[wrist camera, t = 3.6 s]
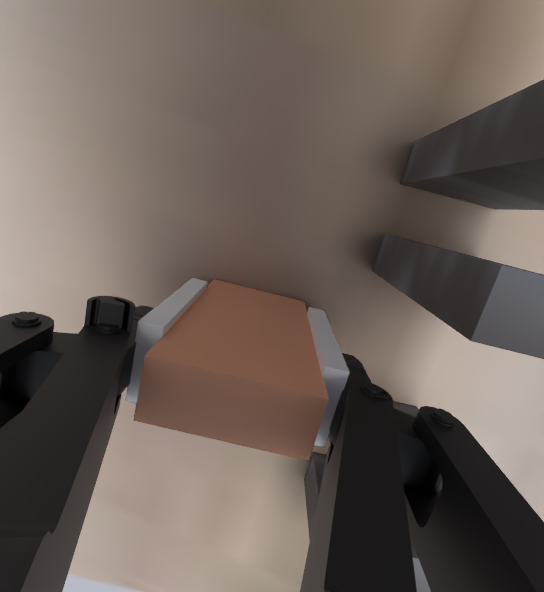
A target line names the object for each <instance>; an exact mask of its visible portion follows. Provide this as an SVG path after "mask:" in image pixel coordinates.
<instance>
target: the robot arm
mask: <svg viewBox="0 0 544 592" xmlns="http://www.w3.org/2000/svg"><path fill="white" fill-rule="evenodd" d="M207 283H208V282H207V281H203V280H199V279H195V278H191V279H190V280H189V281H188V282H186V283H185V284H184V285H183V286H181V287H180V288H179V289H178V290H176V291H175V292H174V293H173V294H171V295H170V296H169V297H168V298H166V299H165V300H164V301H163V302H161V303H160V304H159V305H158V306H156V307H155V308H151V307H147V306H139V307H135V304H134V303H132V302H131V301H129V300H126V299H123V298H118V297H112V296H97V297H92V298H90V299H88V300H87V308H86V316H85V324H84V327H83V328H82V330H81V331H80V332H79V334H70V333H59V332H53V329H54V320H53V319H51V318H50V317H48V316H45V315H42V314H36V313H35V312H29V313H28V312H20V313H14V314H9V315H5V316H2V317H0V592H62V590H63V587H64V584H65V581H66V577H67V574H68V571H69V568H70V564H71V561H72V558H73V555H74V552H75V548H76V545H77V542H78V539H79V535H80V532H81V529H82V526H83V522H84V519H85V516H86V513H87V509H88V506H89V503H90V500H91V496H92V493H93V490H94V487H95V484H96V480H97V477H98V474H99V471H100V467H101V464H102V461H103V458H104V454H105V451H106V448H107V445H108V441H109V438H110V435H111V432H112V428H113V425H114V422H115V419H116V415H117V412H118V409H119V405H120V399H121V393H122V392H123V391H124V389H125V388H126V387H127V386H128V388H127V394H126V400H125V401H128V402H133V403H137V398H138V392H139V386H140V381H141V375H142V369H143V363H144V357H145V355H146V353H147V352H148V351H149V350H150V349H151V348H152V347H153V346H154V345H155V344H156V342H157V341H158V340H159V339H160V338H162V337H163V336H164V335H165V334H166V333H167V331H168V330H169V329H170V328H171V327H172V326H173V325H174V324H175V323H176V322H177V320H178V319H179V318H180V317H181V316H182V315H183V314H184V313H185V312H186V310H187V309H188V308H189V307H190V306H191V305H192V304H193V303H194V302H195V300H196V299H197V298H198V297H199V296H200V295H201V294H202V293H203V292H204V291H205V289H206V287H207ZM307 316H308V320H309V324H310V328H311V332H312V337H313V341H314V345H315V349H316V353H317V357H318V361H319V365H320V370H321V374H322V377H323V378H324V382H325V386H326V390H327V394H328V398H329V400H328V403H327V406H326V410H325V413H324V416H323V419H322V422H321V425H320V428H319V431H318V434H317V437H316V440H315V443H314V445H317V446H321V447H325V445H326V442H327V439H328V436H329V433H330V435H331V440H332V441H331V444H330V447H329V450H328V453H327V456H326V459H325V462H324V465H323V468H322V471H321V475H323V478H322V483H321V488H320V493H319V498H318V503H317V508H316V513H315V518H314V524H313V529H312V534H311V539H310V544H309V549H308V554H307V559H306V564H305V569H304V574H303V580H302V585H301V590H300V592H417V588H416V580H415V572H414V564H413V557H412V549H411V541H410V537H411V540H412V543H413V545H414V548H415V551H416V553H417V556H418V558H419V561H420V564H421V566H422V569H423V572H424V574H425V577H426V580H427V582H428V585H429V587H430V590H431V592H544V522H543V521H542V520H541V518H540V517H539V516H538V515H537V513H536V512H535V511H534V510H533V509H532V507H531V506H530V505H529V504H528V503H527V501H526V500H525V499H524V498H523V496H522V495H521V494H520V493H519V492H518V490H517V489H516V488H515V487H514V485H513V484H512V483H511V482H510V481H509V479H508V478H507V477H506V476H505V475H504V473H503V472H502V471H501V470H500V468H499V467H498V466H497V465H496V464H495V462H494V461H493V460H492V459H491V457H490V456H489V455H488V454H487V453H486V451H485V450H484V449H483V448H482V447H481V445H480V444H479V443H478V442H477V440H476V439H475V438H474V437H473V436H472V434H471V433H470V432H469V431H468V429H467V428H466V427H465V426H464V425H463V424H462V423H461V422H460V421H459V420H458V419H457V418H455V417H454V416H452V414H450V413H449V412H447V411H446V412H445V410H442V409H437V408H434V407H428V406H424V407H421V408H420V409H419V411H418V414H417V416H416V417H414V416H411V415H409V414H407V413H404V412H402V411H399V410H397V409H395V408H394V406H393V399H392V397H391V395H390V394H389V393H388V392H386V391H385V390H384V389H382V388H380V387H379V386H377V385H375V384H372V383H371V381H370V379H369V377H368V375H367V373H366V371H365V370H364V367H363V365H362V363H361V362H360V361H359V360H358V359H356V358H355V357H354V356H352V355H348V354H344V353H341V350H340V348H339V345H338V343H337V340H336V338H335V336H334V333H333V331H332V328H331V326H330V324H329V321H328V319H327V316H326V314H325V312H324V310H320V309H316V308H312V307H309V308H308V312H307ZM441 486H442V490H441Z"/></svg>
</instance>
